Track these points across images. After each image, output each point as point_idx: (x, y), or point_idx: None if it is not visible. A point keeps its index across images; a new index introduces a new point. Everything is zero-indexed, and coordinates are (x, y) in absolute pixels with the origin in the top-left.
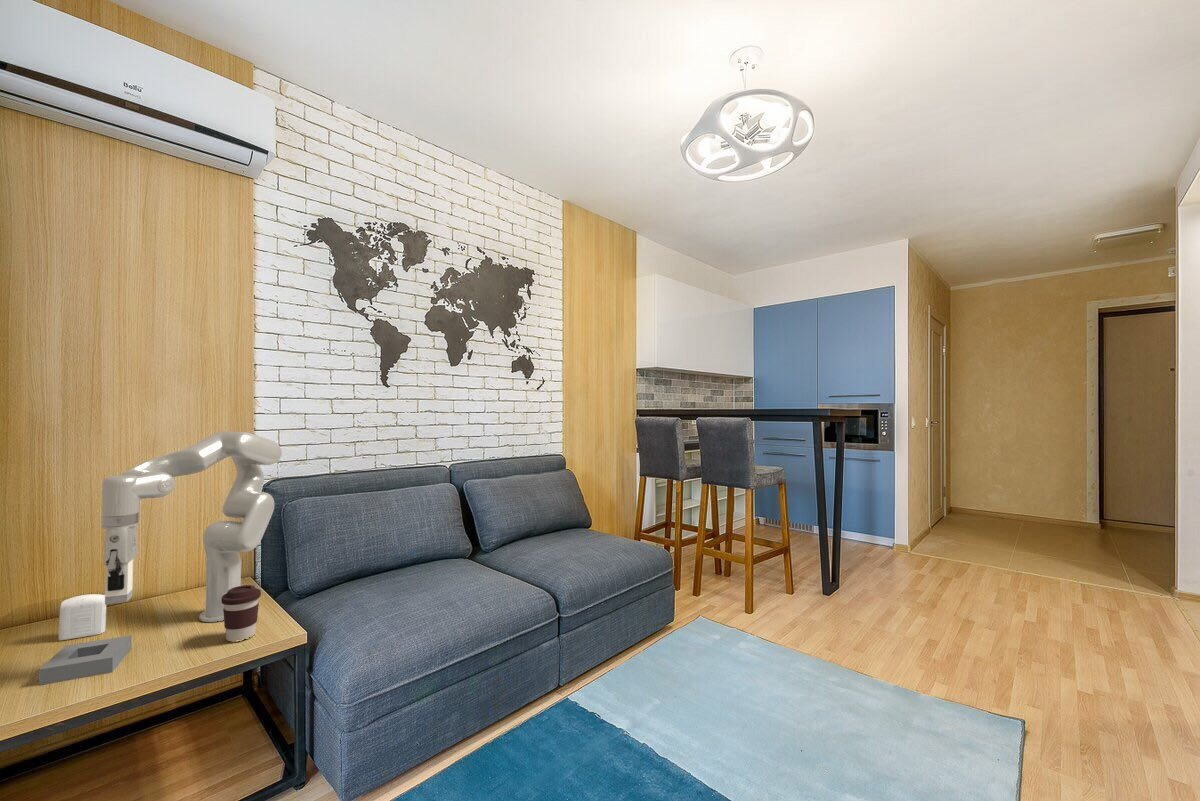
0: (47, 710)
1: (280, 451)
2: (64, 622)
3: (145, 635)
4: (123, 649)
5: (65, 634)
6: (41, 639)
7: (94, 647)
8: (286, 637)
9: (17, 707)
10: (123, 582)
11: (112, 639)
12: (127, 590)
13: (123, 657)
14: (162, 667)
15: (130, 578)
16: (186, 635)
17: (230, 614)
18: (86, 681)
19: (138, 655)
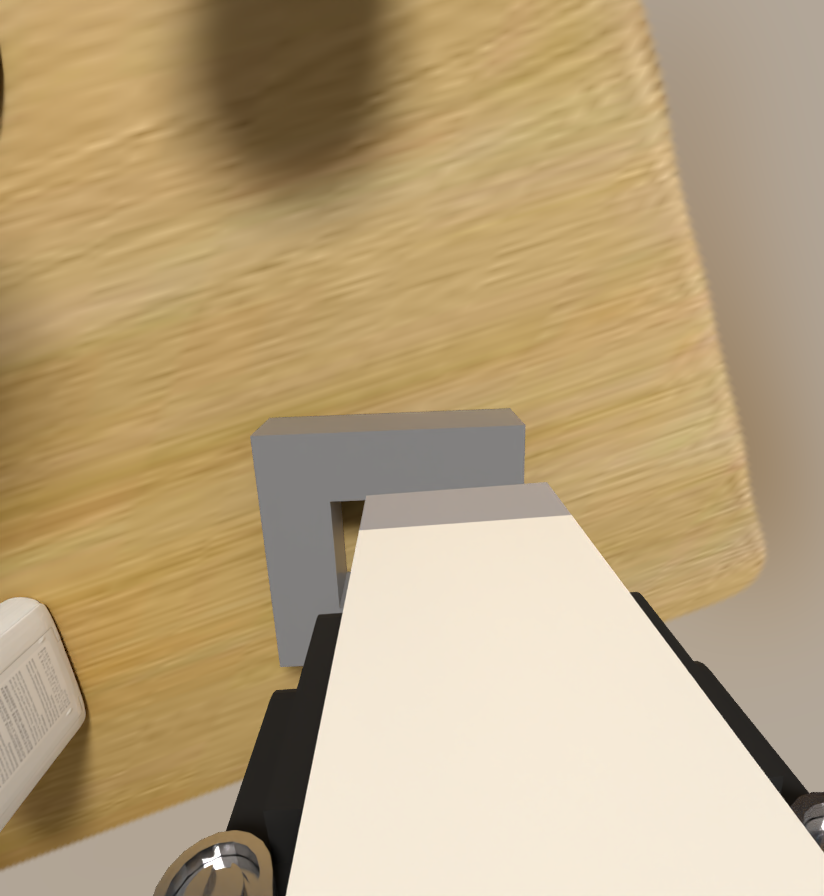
0: (748, 508)
1: None
2: (33, 772)
3: (111, 410)
4: (374, 424)
5: (71, 719)
6: (47, 776)
7: (336, 549)
8: None
9: (663, 606)
10: (683, 651)
11: (278, 505)
12: (585, 536)
13: (374, 415)
14: (563, 200)
15: (468, 626)
16: (171, 195)
17: None
18: (554, 474)
19: (362, 360)
